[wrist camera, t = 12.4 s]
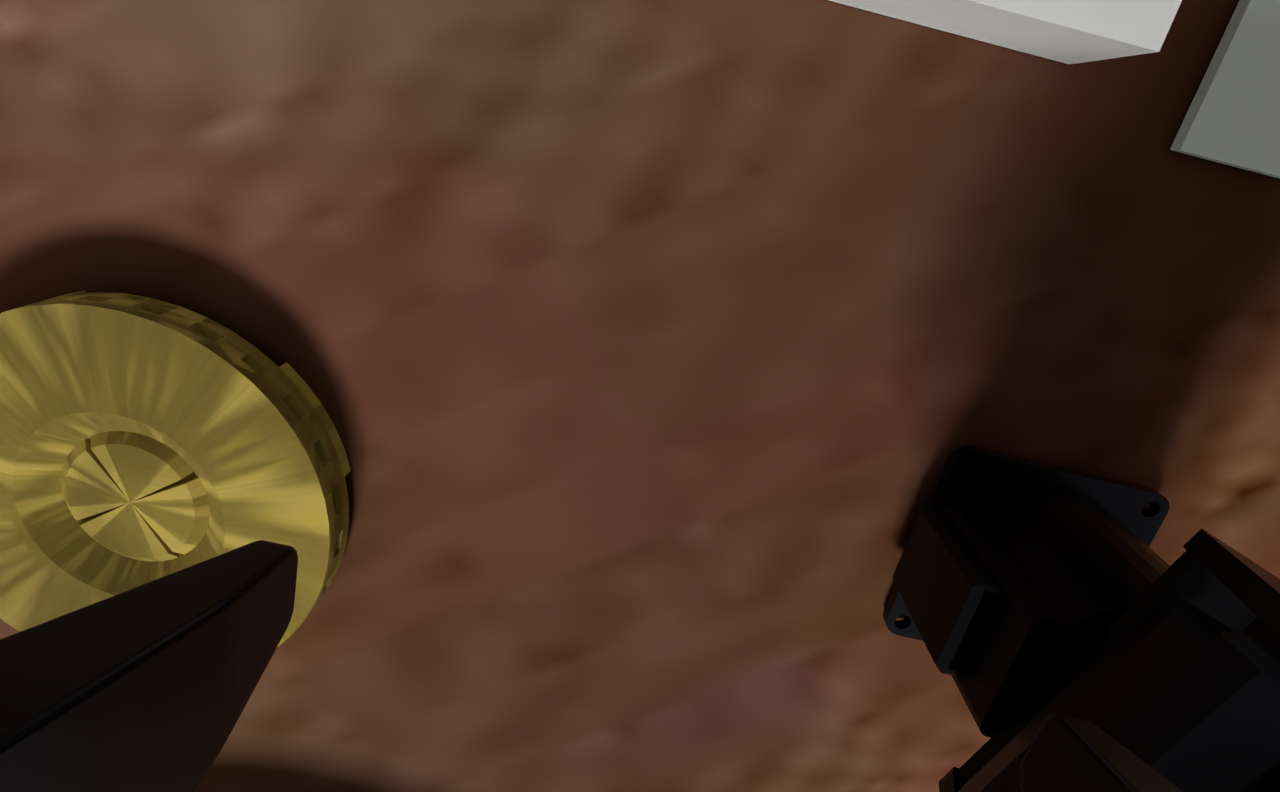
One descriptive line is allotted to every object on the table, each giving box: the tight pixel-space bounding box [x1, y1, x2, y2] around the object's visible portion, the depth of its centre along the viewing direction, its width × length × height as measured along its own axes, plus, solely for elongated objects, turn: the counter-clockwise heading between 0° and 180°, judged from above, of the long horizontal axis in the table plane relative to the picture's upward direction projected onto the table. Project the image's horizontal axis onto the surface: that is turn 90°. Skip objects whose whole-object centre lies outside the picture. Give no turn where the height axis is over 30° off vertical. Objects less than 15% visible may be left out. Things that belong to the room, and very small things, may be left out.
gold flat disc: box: [0, 290, 351, 647], centre depth 22 cm, size 12×12×2 cm
